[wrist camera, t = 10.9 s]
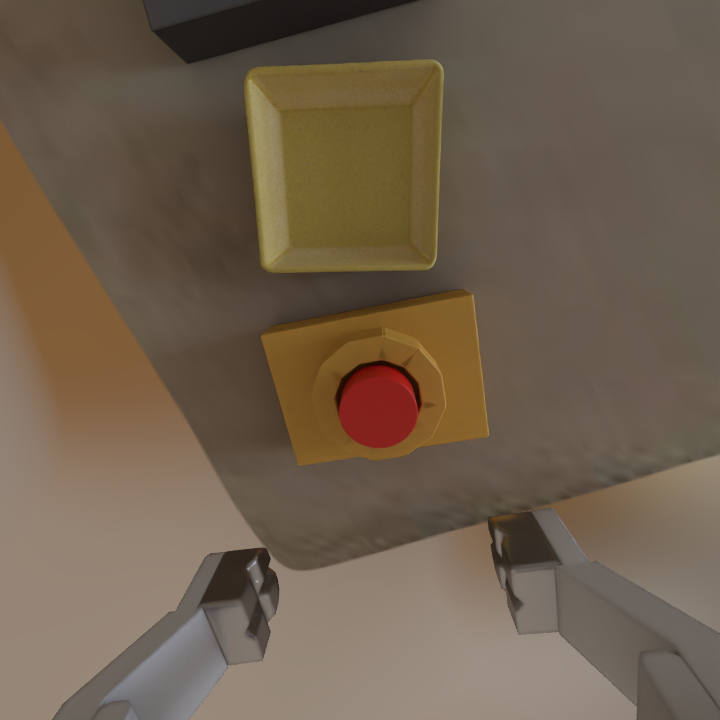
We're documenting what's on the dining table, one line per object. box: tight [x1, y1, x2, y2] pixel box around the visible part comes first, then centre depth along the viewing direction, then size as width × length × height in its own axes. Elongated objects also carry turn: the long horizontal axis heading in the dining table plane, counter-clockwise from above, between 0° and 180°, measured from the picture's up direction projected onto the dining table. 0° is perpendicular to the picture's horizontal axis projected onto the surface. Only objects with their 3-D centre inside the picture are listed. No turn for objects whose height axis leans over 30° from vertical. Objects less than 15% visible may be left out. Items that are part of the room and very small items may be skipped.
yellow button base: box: [261, 289, 489, 466], centre depth 20 cm, size 11×8×4 cm
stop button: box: [339, 365, 418, 448], centre depth 18 cm, size 4×4×2 cm
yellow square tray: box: [244, 59, 444, 273], centre depth 18 cm, size 9×9×2 cm
